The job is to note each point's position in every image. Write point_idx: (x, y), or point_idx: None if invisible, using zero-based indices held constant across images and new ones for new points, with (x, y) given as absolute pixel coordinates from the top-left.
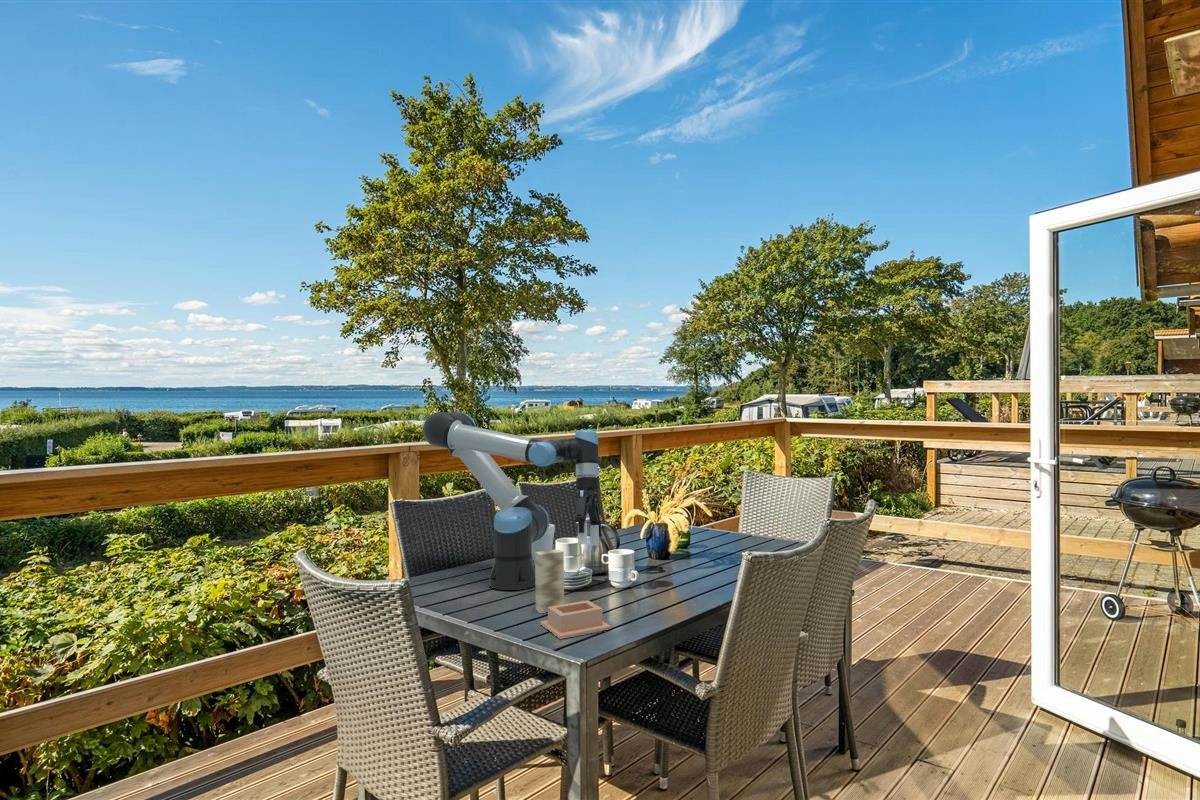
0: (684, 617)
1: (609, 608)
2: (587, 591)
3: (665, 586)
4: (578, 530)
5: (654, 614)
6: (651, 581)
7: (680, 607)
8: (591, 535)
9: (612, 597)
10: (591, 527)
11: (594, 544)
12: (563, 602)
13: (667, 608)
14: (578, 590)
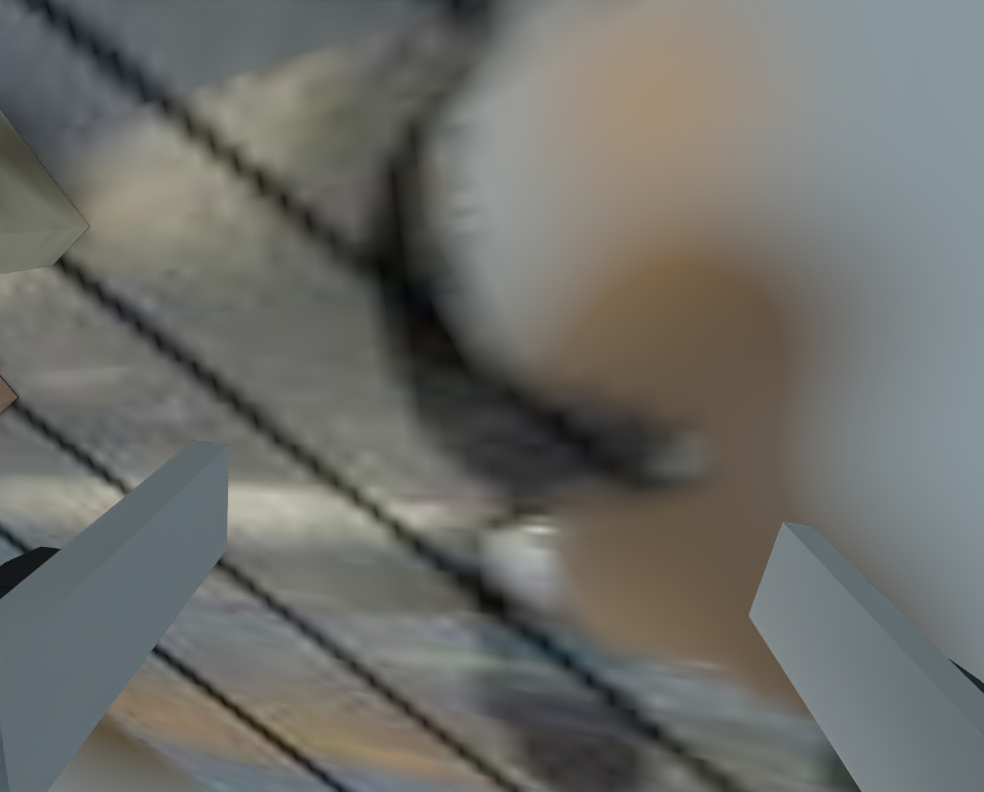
0: (133, 725)
1: None
2: (389, 369)
3: (527, 762)
4: (66, 557)
5: None
6: (628, 724)
7: (232, 740)
8: (859, 632)
9: (302, 506)
10: (971, 761)
11: (769, 579)
12: (9, 268)
13: (209, 698)
14: (403, 309)
